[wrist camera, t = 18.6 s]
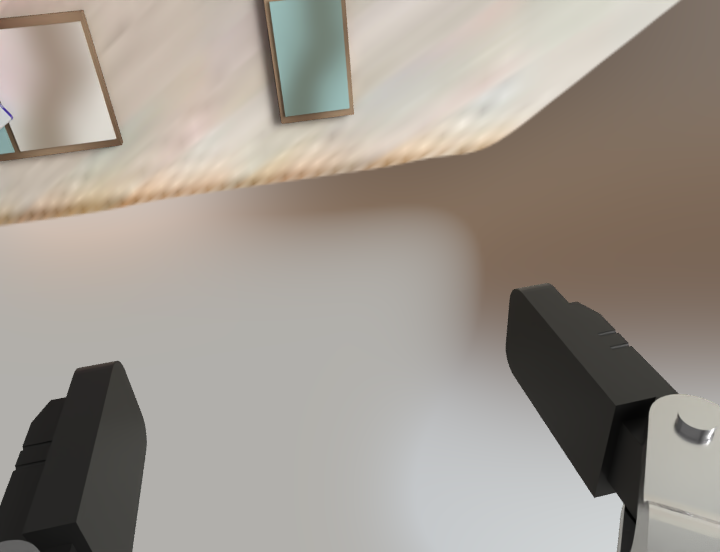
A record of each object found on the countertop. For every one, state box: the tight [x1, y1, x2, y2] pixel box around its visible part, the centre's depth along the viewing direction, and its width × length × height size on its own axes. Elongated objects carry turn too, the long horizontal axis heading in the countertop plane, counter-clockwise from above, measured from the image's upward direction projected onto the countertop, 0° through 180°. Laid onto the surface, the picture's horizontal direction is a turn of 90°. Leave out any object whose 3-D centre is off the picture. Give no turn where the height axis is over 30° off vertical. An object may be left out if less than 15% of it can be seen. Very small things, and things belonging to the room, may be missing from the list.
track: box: [0, 0, 354, 161], centre depth 35 cm, size 28×8×1 cm, turn 94°
